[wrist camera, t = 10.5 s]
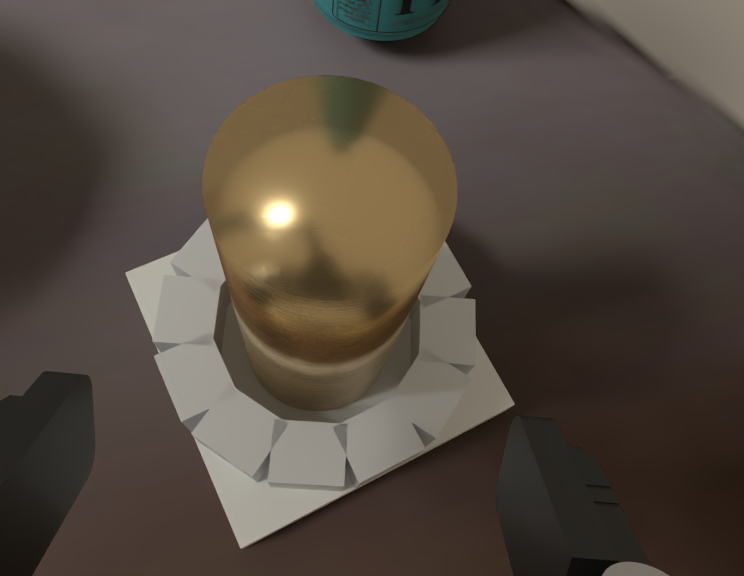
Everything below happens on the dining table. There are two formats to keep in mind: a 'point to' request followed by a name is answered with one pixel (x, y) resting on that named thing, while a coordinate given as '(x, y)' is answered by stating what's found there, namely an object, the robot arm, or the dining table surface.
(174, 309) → the seat block
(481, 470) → the dining table surface
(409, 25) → the beverage bottle
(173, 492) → the dining table surface
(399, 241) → the cylinder
